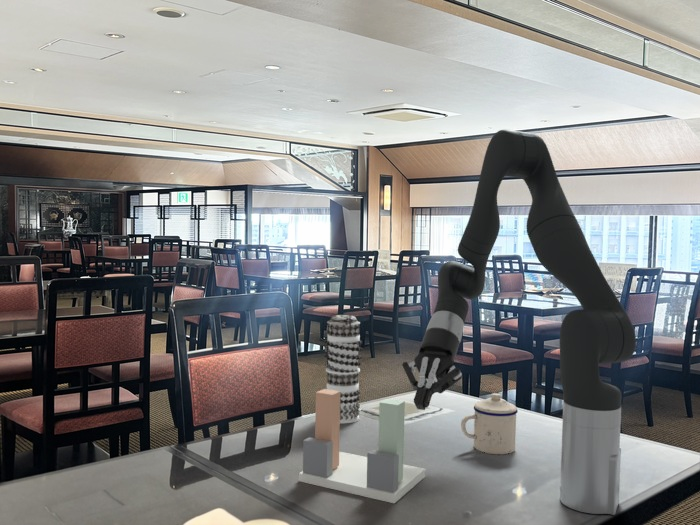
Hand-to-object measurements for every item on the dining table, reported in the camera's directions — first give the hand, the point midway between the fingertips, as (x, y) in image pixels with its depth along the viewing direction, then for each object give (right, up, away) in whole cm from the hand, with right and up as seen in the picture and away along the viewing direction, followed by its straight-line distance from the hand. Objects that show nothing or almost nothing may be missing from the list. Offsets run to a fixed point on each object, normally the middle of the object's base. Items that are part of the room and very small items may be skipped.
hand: (419, 407), depth 129 cm
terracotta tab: (-18, -10, -7) cm, 21 cm away
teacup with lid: (+16, -11, +11) cm, 22 cm away
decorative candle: (-16, -10, +31) cm, 36 cm away
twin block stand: (-11, -12, -8) cm, 18 cm away
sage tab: (-7, -10, -13) cm, 18 cm away
